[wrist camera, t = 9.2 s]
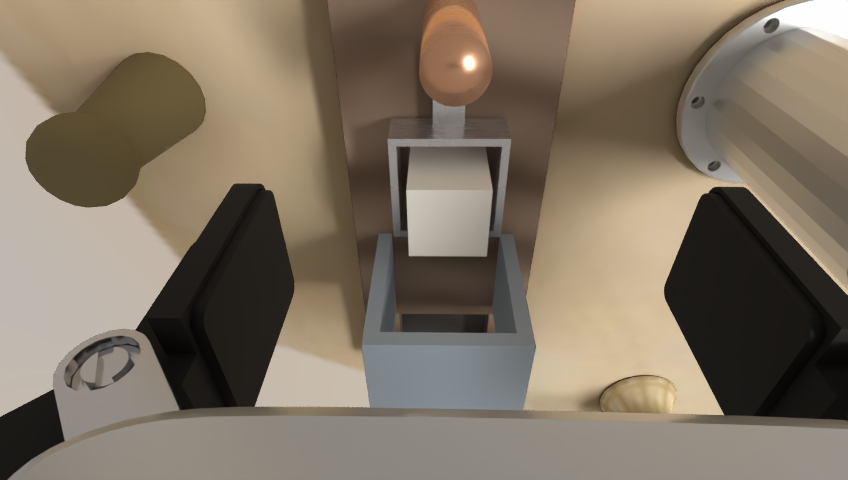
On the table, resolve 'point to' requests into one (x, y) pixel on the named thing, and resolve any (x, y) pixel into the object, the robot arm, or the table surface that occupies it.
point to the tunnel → (449, 347)
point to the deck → (405, 98)
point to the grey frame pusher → (451, 102)
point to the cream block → (448, 201)
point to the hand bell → (639, 396)
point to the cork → (116, 131)
